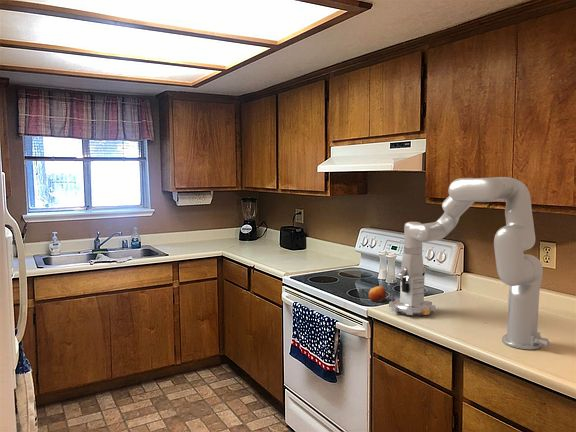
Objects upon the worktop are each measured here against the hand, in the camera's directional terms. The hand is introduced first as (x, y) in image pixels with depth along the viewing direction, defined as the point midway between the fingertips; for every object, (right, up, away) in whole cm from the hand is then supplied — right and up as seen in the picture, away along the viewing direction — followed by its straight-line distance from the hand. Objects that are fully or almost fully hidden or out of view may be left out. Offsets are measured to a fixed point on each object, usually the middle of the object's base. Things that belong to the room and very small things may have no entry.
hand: (412, 290), depth 200 cm
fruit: (-12, -8, +19) cm, 23 cm away
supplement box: (0, -6, +1) cm, 6 cm away
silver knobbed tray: (0, -8, +1) cm, 8 cm away
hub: (0, -10, +1) cm, 10 cm away
